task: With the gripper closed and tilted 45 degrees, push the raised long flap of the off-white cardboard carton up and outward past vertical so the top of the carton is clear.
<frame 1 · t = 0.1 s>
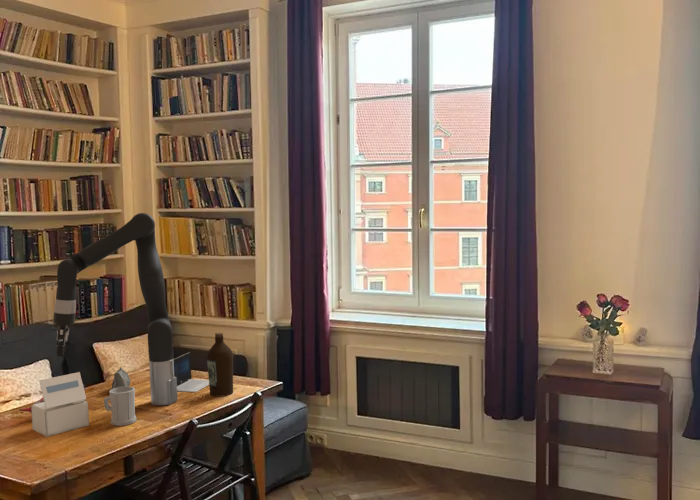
hand: (61, 353, 253), 23 cm above the table, tool pointing down, fingers open, 8 cm apart
flap: (63, 389, 234), point 14 cm above the table, hinge at -25.0°
carton: (61, 427, 237), on the table
cup: (121, 423, 241), on the table
laptop: (193, 387, 288), on the table
brown bottle: (221, 393, 275), on the table
decorative bird figurine: (40, 419, 247), on the table
box: (73, 412, 256), on the table
mineral rock: (123, 390, 285), on the table
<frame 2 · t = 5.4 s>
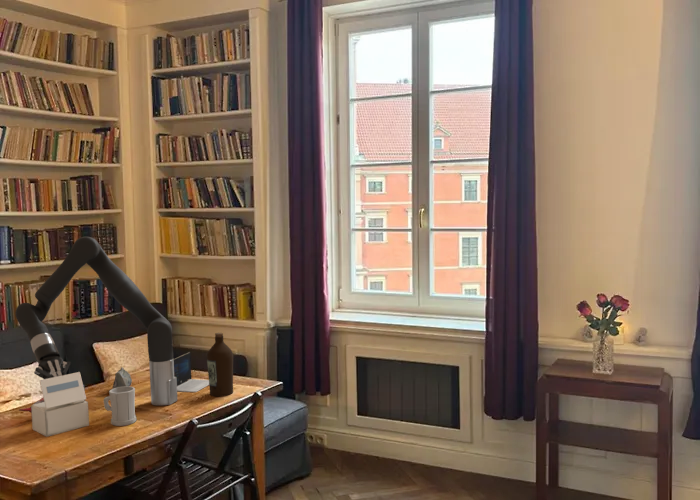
hand: (61, 387, 235), 15 cm above the table, tool tilted 45°, fingers closed
flap: (63, 389, 234), point 14 cm above the table, hinge at -24.1°, touching gripper
everything else where it was.
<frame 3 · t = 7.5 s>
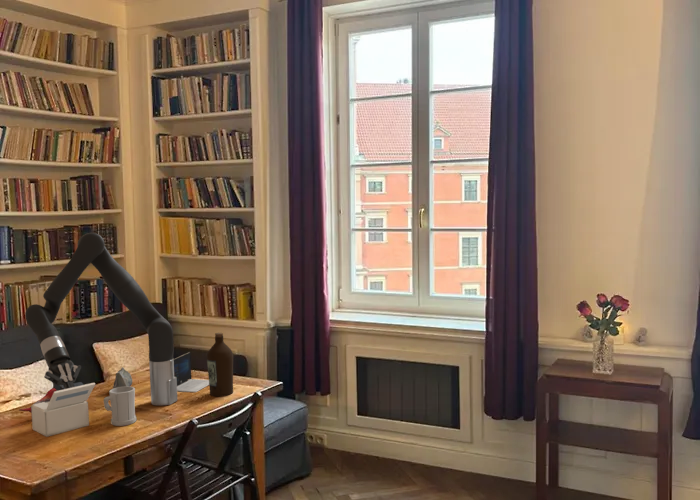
hand: (71, 392, 229), 15 cm above the table, tool tilted 45°, fingers closed
flap: (71, 396, 230), point 13 cm above the table, hinge at 45.4°, touching gripper
everything else where it was.
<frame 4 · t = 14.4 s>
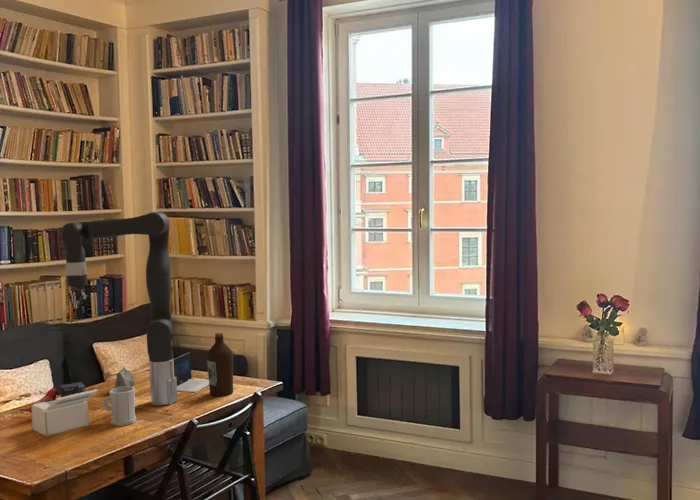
hand: (79, 317, 261), 35 cm above the table, tool pointing down, fingers closed
flap: (72, 399, 229), point 12 cm above the table, hinge at 59.7°
at the end: flap at +60° (first picture: -25°) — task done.
